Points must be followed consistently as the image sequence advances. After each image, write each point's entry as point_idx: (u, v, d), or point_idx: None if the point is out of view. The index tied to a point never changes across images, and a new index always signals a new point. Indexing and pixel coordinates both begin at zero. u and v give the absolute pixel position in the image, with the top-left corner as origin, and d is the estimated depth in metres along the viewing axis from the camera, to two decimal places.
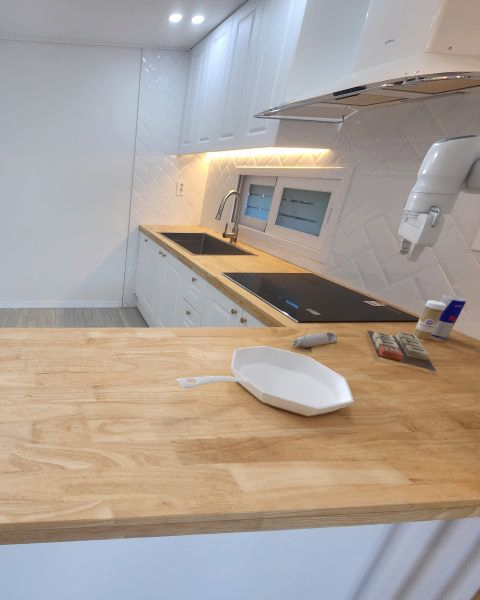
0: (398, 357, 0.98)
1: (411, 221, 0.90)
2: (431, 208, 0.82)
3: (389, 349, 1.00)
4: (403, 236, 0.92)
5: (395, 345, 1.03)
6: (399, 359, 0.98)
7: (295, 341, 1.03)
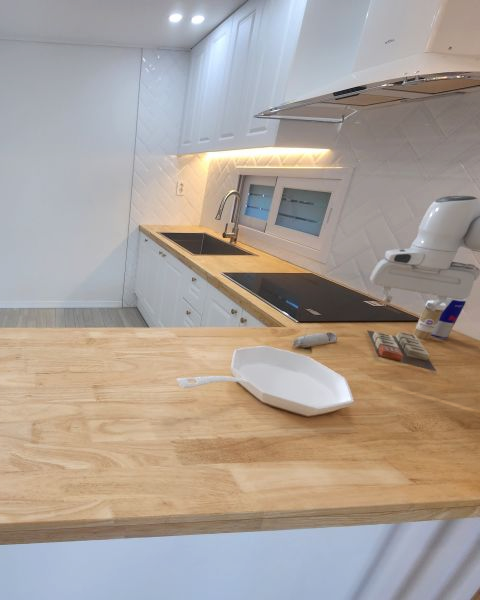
0: (398, 357, 0.98)
1: (412, 274, 0.92)
2: (458, 264, 0.87)
3: (389, 349, 1.00)
4: (403, 288, 0.93)
5: (395, 345, 1.03)
6: (399, 359, 0.98)
7: (295, 341, 1.03)
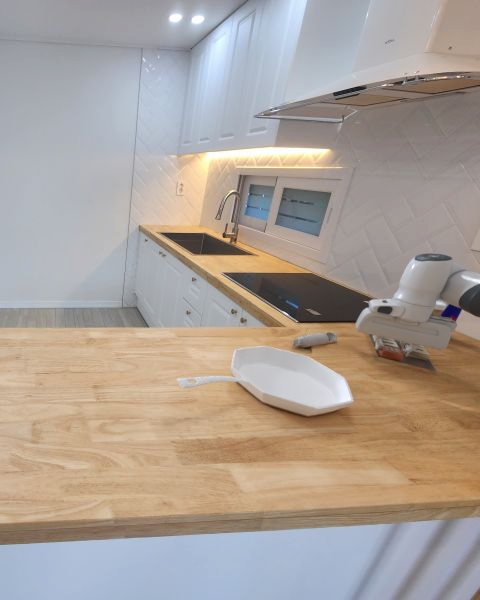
0: (398, 357, 0.98)
1: (394, 324, 0.97)
2: (436, 317, 0.93)
3: (389, 349, 1.00)
4: (386, 336, 0.99)
5: (395, 345, 1.03)
6: (399, 359, 0.98)
7: (295, 341, 1.03)
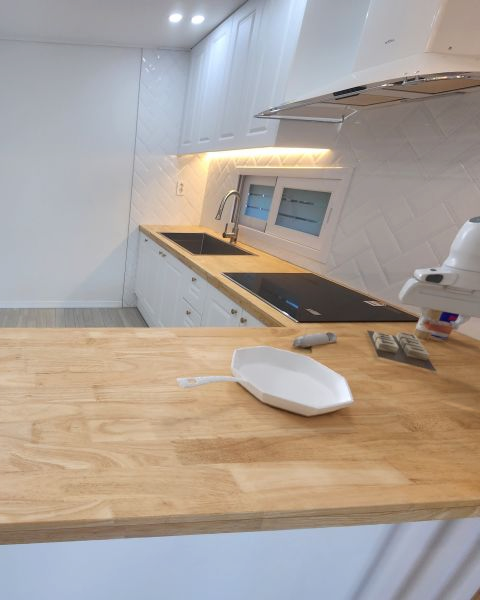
0: (447, 330, 0.91)
1: (443, 294, 0.90)
2: None
3: (436, 322, 0.93)
4: (434, 308, 0.91)
5: (395, 345, 1.03)
6: (448, 332, 0.91)
7: (295, 341, 1.03)
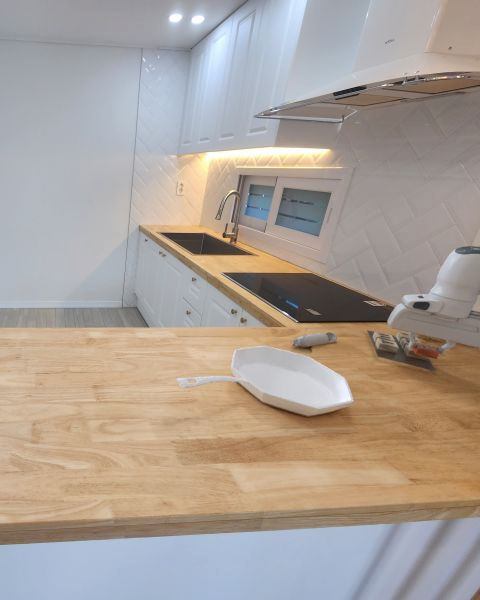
0: (434, 355, 0.94)
1: (430, 320, 0.93)
2: (476, 313, 0.88)
3: (424, 347, 0.96)
4: (421, 333, 0.94)
5: (395, 345, 1.03)
6: (435, 357, 0.94)
7: (295, 341, 1.03)
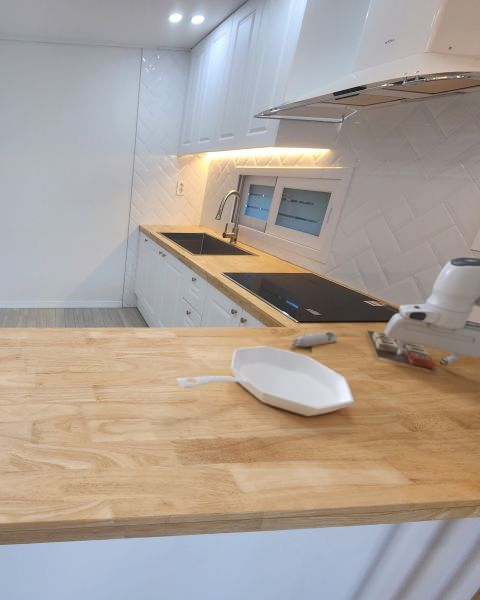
0: (430, 365, 0.95)
1: (426, 330, 0.94)
2: (472, 324, 0.89)
3: (420, 356, 0.97)
4: (418, 343, 0.95)
5: (395, 345, 1.03)
6: (431, 367, 0.95)
7: (294, 341, 1.03)
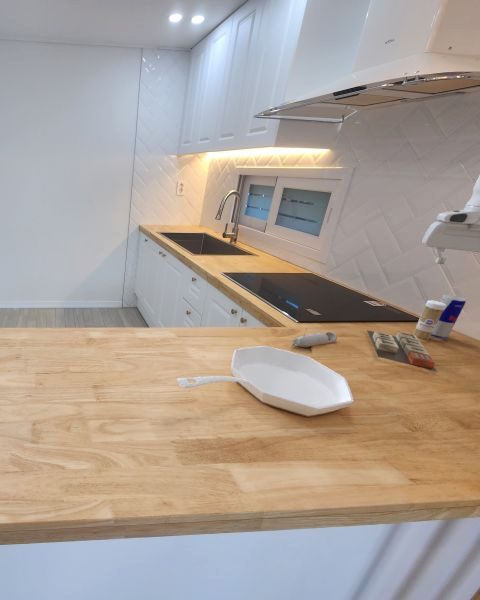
0: (430, 365, 0.95)
1: (467, 233, 0.94)
2: None
3: (420, 356, 0.97)
4: (458, 248, 0.95)
5: (395, 345, 1.03)
6: (431, 367, 0.95)
7: (294, 341, 1.03)
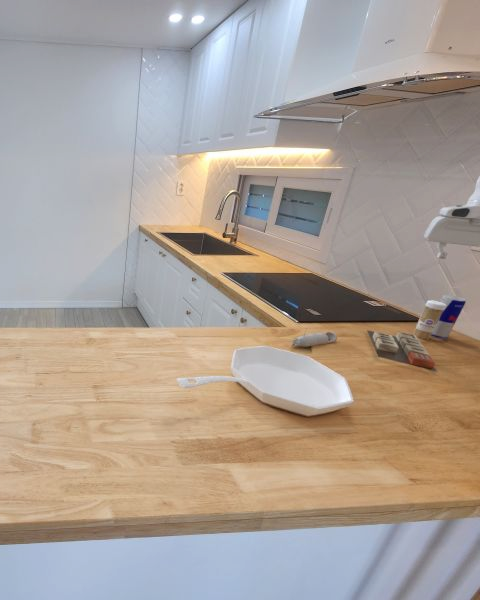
0: (430, 365, 0.95)
1: (469, 228, 0.94)
2: None
3: (420, 356, 0.97)
4: (459, 243, 0.96)
5: (395, 345, 1.03)
6: (431, 367, 0.95)
7: (294, 341, 1.03)
